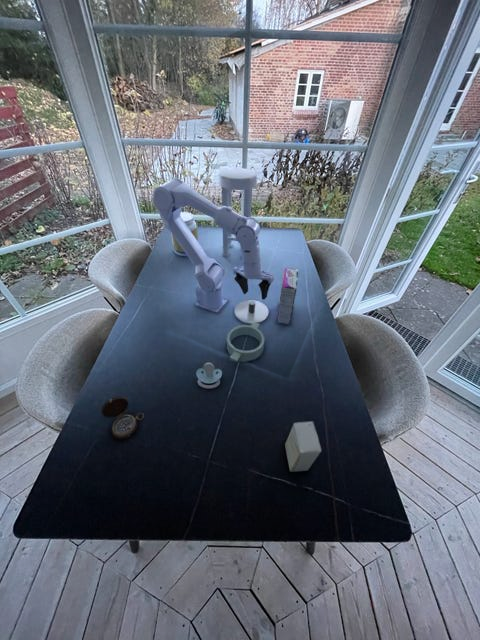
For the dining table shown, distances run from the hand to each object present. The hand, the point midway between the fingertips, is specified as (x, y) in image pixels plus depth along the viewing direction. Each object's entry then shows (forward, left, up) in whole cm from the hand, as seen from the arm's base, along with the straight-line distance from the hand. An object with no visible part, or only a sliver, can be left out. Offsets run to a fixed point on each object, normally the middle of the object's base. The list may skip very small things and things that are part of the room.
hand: (255, 295), depth 91 cm
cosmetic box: (+29, -41, -9) cm, 51 cm away
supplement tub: (-48, +27, -9) cm, 56 cm away
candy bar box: (+10, +5, -9) cm, 14 cm away
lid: (-1, 0, -8) cm, 8 cm away
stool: (-26, +38, -9) cm, 47 cm away
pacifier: (0, -32, -9) cm, 33 cm away
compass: (-12, -52, -9) cm, 54 cm away
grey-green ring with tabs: (+4, -16, -9) cm, 19 cm away
